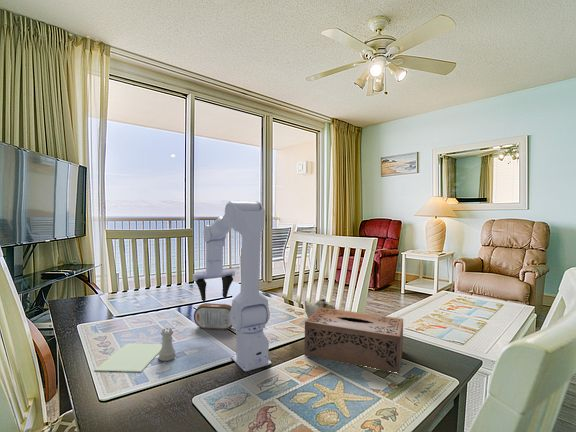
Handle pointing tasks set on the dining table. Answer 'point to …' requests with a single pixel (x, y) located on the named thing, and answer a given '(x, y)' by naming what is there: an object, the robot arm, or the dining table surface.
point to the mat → (131, 358)
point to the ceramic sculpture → (317, 306)
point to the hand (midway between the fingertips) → (214, 298)
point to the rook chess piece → (167, 346)
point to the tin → (213, 316)
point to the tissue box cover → (355, 338)
